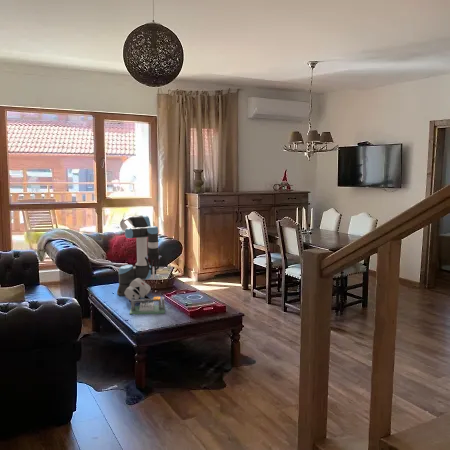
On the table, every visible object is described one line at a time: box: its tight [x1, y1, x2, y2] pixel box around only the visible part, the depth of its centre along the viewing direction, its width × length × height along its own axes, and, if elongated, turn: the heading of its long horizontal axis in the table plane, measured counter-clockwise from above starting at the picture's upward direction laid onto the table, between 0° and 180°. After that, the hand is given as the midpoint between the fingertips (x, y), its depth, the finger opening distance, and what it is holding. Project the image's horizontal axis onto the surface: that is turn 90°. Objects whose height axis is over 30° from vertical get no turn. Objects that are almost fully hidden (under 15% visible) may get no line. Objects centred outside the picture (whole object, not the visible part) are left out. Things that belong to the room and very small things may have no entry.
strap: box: [133, 296, 162, 304], centre depth 340 cm, size 6×21×2 cm, turn 97°
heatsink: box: [139, 302, 155, 312], centre depth 341 cm, size 12×10×6 cm
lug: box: [158, 296, 165, 310], centre depth 342 cm, size 6×4×8 cm
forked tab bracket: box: [130, 298, 136, 311], centre depth 340 cm, size 7×2×8 cm, turn 7°
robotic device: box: [124, 278, 151, 305], centre depth 358 cm, size 10×21×20 cm
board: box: [129, 304, 166, 315], centre depth 342 cm, size 16×25×1 cm, turn 97°
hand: (153, 278), depth 341 cm, fingers closed
